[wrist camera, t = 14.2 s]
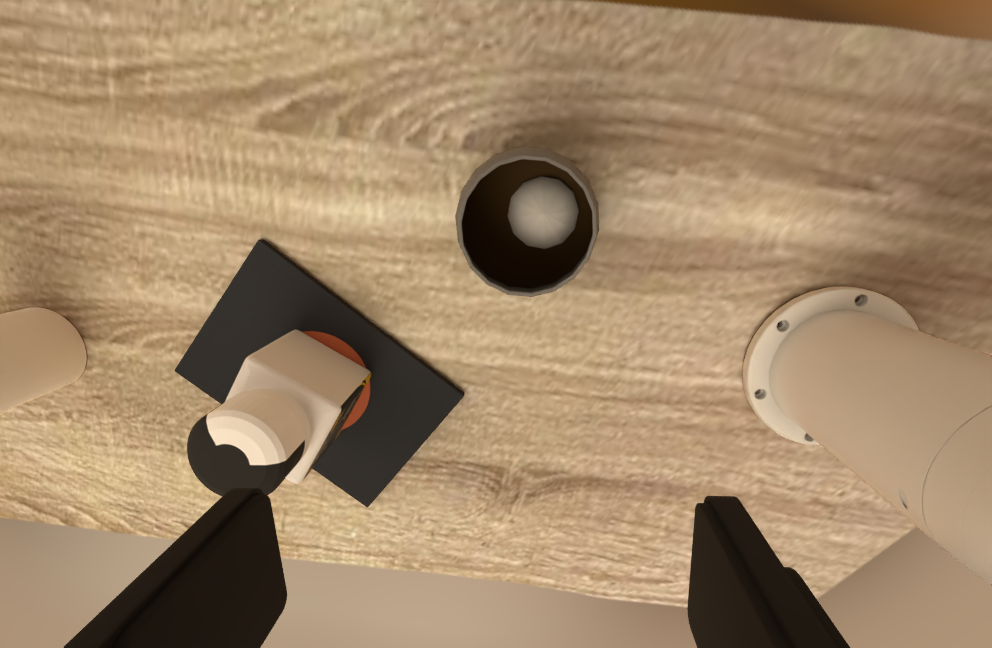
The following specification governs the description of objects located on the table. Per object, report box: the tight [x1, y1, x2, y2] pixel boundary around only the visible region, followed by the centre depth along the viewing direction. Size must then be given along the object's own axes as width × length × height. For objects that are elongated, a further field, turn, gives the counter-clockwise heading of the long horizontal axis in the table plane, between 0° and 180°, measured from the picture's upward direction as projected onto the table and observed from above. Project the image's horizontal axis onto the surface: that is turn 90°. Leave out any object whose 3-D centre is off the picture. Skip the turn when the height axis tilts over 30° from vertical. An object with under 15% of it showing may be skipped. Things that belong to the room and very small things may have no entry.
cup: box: [455, 147, 599, 297], centre depth 30 cm, size 10×9×10 cm
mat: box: [175, 239, 464, 507], centre depth 39 cm, size 20×14×1 cm
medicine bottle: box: [187, 330, 371, 496], centre depth 33 cm, size 7×7×12 cm
